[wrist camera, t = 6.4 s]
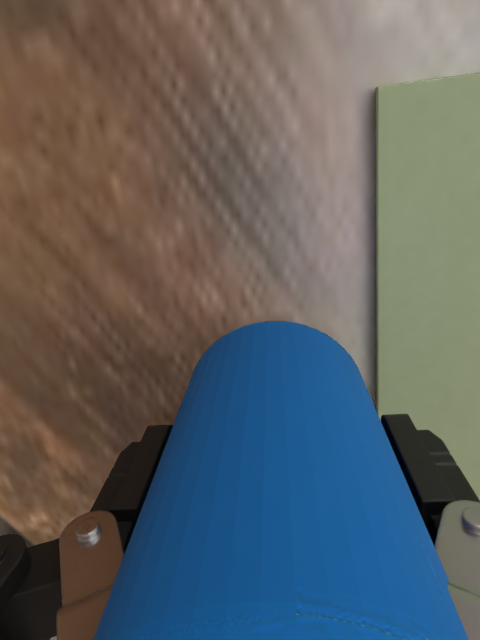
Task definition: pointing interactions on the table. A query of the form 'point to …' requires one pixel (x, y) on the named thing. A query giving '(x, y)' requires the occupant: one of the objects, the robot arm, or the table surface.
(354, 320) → the table surface
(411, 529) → the beverage can
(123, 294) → the table surface
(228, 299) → the table surface
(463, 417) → the desk mat
